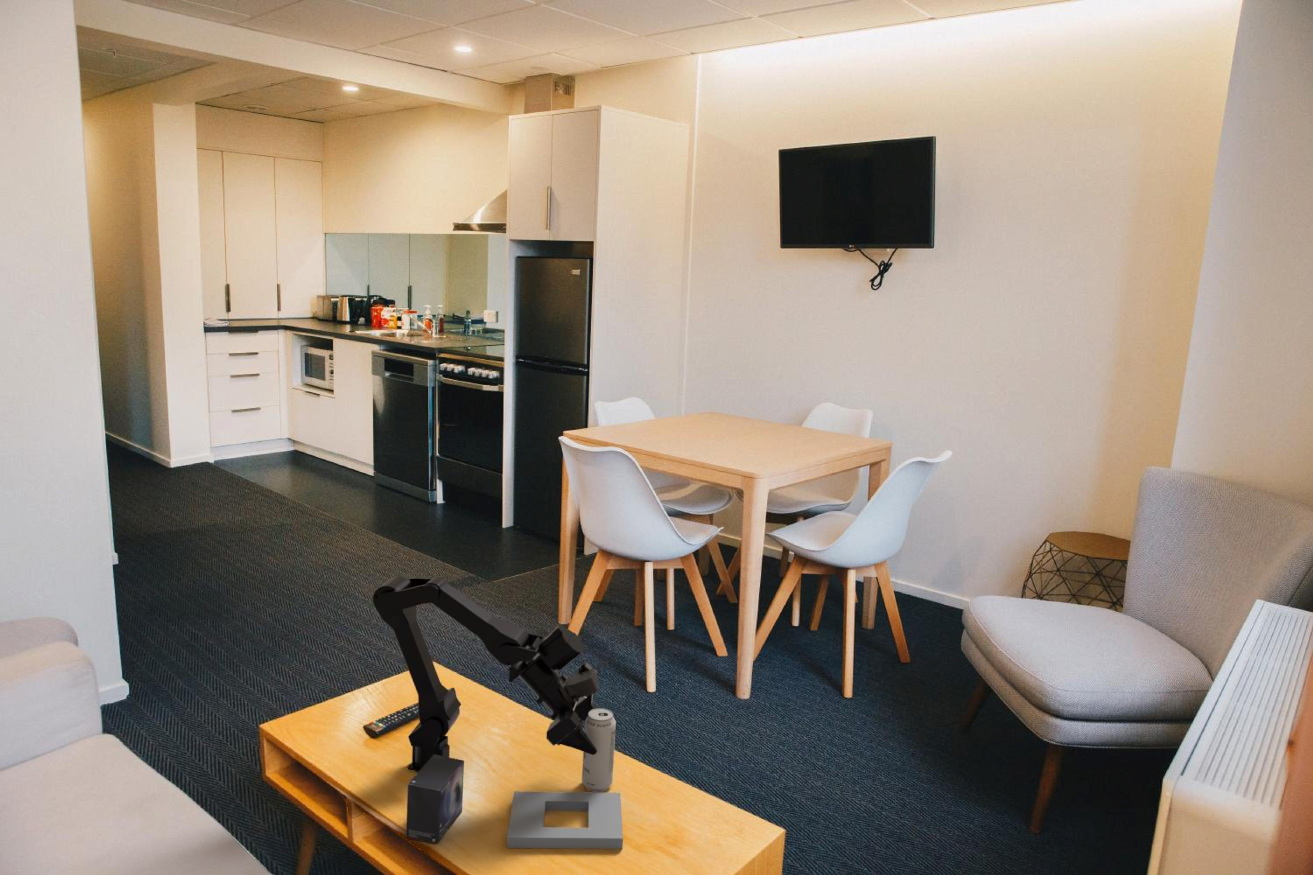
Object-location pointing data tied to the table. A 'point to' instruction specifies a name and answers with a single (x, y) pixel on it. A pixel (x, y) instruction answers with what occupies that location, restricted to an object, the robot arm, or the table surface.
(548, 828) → the hole board
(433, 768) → the small box
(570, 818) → the table surface
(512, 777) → the table surface
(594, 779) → the energy drink can
